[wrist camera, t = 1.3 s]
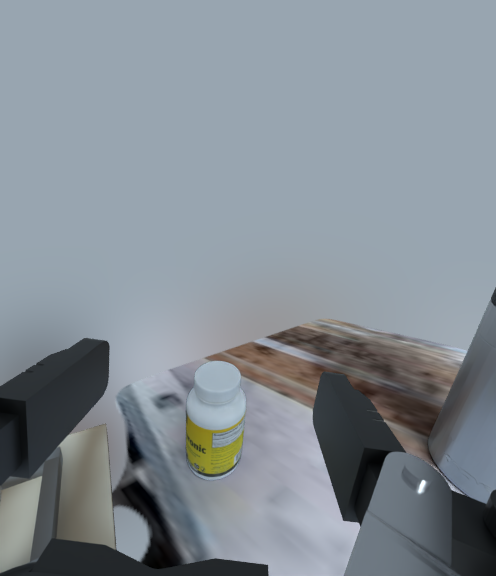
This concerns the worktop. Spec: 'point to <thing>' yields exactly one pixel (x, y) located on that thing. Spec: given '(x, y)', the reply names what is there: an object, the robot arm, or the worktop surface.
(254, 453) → the worktop surface
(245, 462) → the worktop surface
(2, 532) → the seat board
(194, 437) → the supplement bottle
